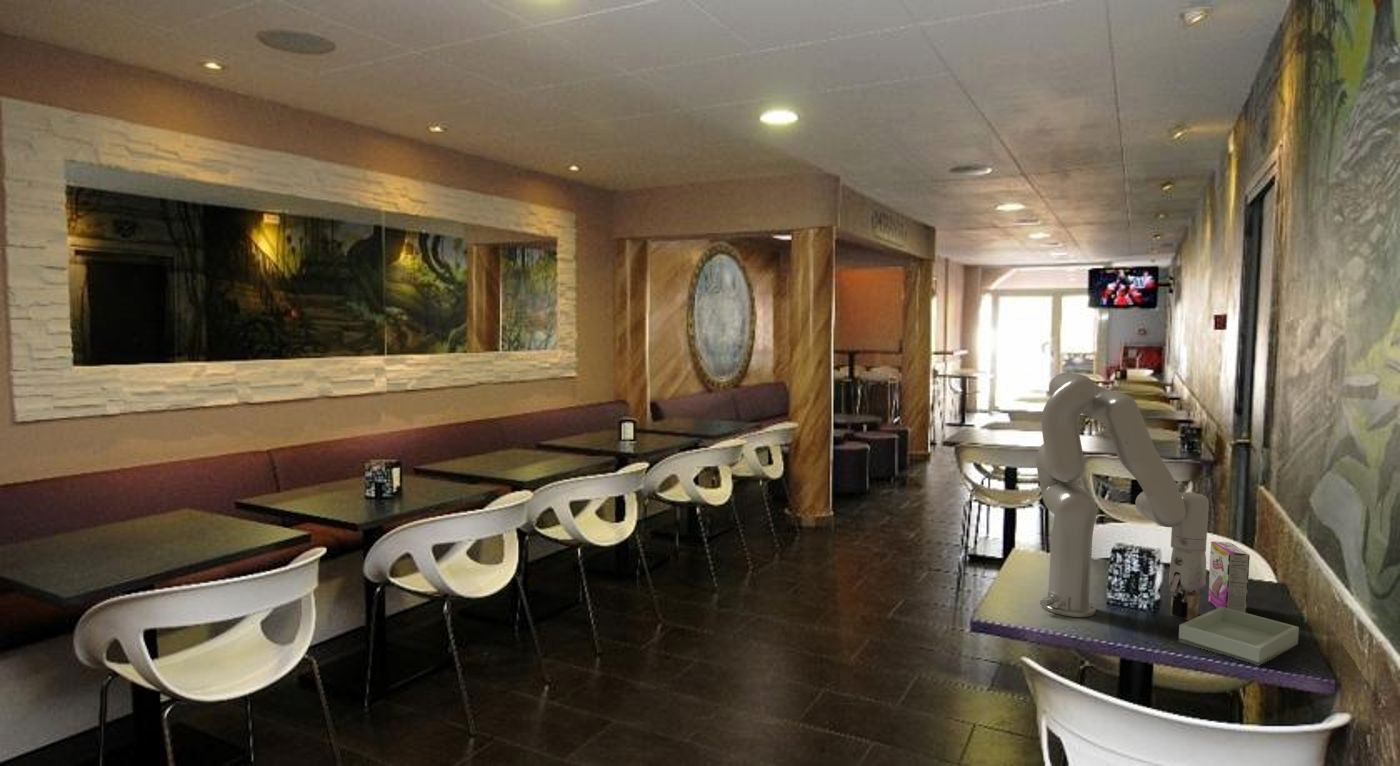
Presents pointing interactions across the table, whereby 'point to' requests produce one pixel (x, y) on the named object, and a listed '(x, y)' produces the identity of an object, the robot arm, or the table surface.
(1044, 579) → the table surface
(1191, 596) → the maple block
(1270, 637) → the tray
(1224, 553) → the candy bar box
